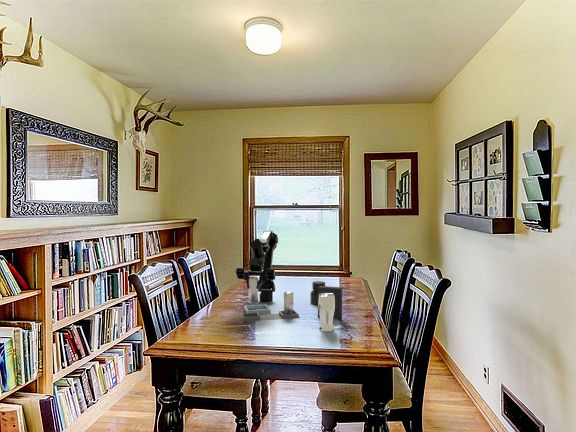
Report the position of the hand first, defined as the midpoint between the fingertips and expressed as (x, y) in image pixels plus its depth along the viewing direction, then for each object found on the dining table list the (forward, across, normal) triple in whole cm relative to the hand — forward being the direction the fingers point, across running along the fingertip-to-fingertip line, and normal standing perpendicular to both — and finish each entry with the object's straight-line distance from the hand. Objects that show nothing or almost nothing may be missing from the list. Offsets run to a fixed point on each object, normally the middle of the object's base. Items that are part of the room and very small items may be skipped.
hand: (252, 288), depth 192 cm
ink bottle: (-12, +29, +32) cm, 44 cm away
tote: (+3, 0, +16) cm, 17 cm away
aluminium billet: (+4, 0, +6) cm, 7 cm away
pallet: (+10, +8, +10) cm, 16 cm away
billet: (+7, +17, +11) cm, 21 cm away
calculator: (+7, +36, +13) cm, 39 cm away
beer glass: (+19, +35, +1) cm, 40 cm away
